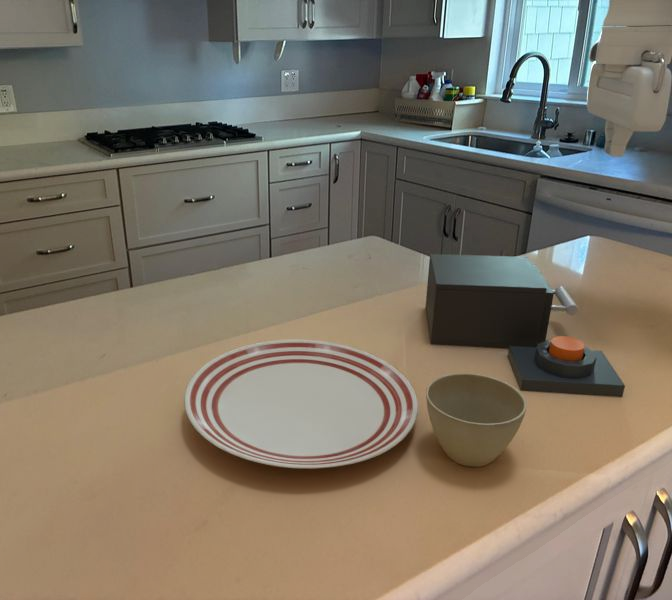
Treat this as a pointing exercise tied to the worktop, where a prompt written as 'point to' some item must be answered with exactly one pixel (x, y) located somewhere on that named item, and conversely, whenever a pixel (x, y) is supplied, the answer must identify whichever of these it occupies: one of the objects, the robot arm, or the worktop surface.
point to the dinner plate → (301, 404)
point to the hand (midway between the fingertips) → (613, 154)
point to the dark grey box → (483, 301)
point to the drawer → (564, 299)
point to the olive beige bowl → (474, 416)
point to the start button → (566, 348)
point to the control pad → (564, 372)
